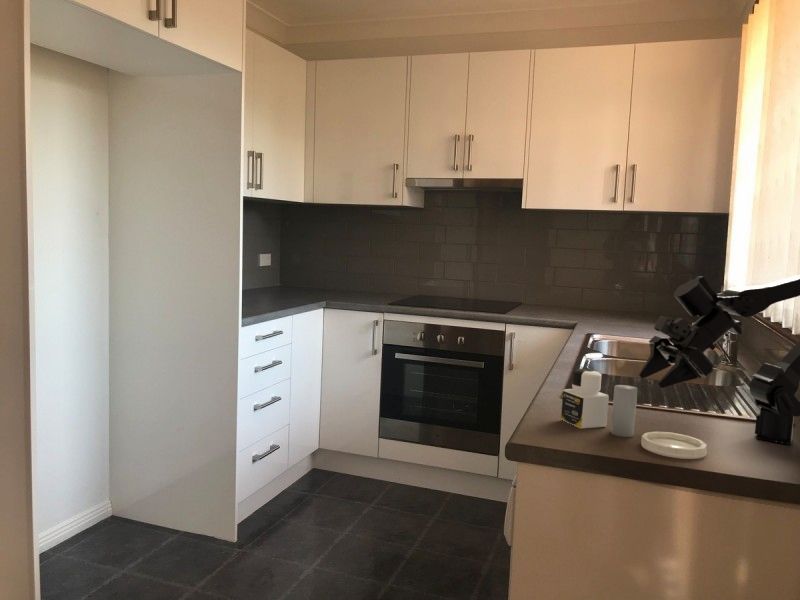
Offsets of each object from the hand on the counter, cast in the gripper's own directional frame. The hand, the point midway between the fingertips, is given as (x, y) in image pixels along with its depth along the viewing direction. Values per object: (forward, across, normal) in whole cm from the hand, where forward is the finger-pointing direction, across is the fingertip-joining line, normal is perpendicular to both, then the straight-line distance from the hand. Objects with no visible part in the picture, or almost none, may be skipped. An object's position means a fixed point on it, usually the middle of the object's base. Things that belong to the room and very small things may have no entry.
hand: (649, 381), depth 142 cm
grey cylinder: (+12, 0, +5) cm, 12 cm away
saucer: (+7, +10, +9) cm, 15 cm away
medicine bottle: (+16, -7, +1) cm, 17 cm away
